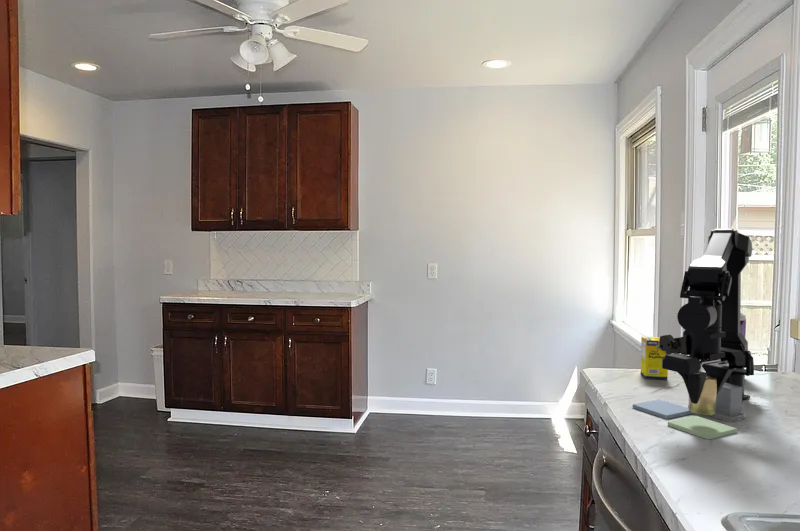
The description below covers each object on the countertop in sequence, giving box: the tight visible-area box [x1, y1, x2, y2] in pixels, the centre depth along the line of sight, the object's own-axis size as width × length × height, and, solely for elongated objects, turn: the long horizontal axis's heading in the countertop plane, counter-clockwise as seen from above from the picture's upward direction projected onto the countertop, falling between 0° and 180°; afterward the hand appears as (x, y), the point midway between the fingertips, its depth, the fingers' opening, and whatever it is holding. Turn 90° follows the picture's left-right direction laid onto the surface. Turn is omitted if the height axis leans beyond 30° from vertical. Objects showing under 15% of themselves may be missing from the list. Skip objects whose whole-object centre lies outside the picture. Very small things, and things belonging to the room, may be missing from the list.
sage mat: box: [667, 415, 738, 440], centre depth 115 cm, size 9×9×1 cm
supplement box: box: [640, 336, 669, 381], centre depth 158 cm, size 6×6×11 cm
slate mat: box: [632, 398, 694, 420], centre depth 128 cm, size 9×9×1 cm
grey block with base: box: [687, 383, 746, 423], centre depth 125 cm, size 5×10×7 cm, turn 27°
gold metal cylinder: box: [687, 375, 717, 416], centre depth 115 cm, size 5×5×7 cm
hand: (702, 401), depth 115 cm, fingers closed on gold metal cylinder, 5 cm apart
